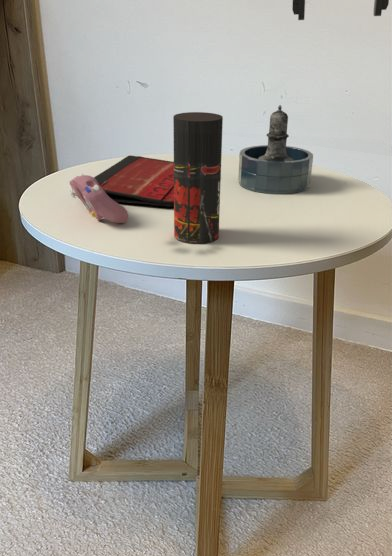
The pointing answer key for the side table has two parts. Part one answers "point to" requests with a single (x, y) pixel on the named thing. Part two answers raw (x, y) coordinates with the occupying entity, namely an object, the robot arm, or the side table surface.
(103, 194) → the video game controller
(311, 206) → the side table surface
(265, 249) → the side table surface
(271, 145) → the salt shaker
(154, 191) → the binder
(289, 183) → the pot
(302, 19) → the robot arm
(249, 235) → the side table surface
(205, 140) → the deodorant
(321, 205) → the side table surface
